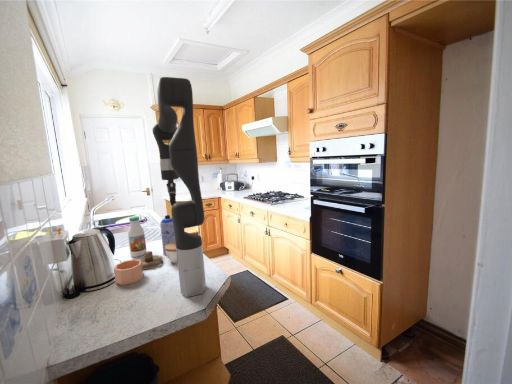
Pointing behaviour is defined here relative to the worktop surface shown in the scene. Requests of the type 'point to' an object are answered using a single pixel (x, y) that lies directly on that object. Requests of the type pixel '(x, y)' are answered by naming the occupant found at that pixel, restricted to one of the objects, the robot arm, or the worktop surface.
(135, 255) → the milk bottle
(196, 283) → the robot arm
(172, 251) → the lidded jar
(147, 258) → the lid
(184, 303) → the worktop surface
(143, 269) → the mat
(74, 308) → the worktop surface
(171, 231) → the aerosol can
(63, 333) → the worktop surface
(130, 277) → the bowl
